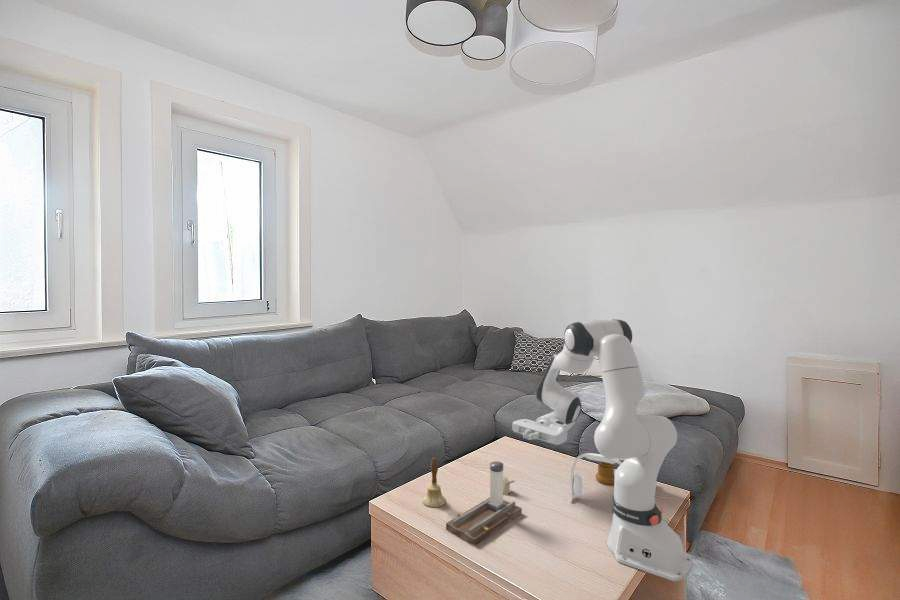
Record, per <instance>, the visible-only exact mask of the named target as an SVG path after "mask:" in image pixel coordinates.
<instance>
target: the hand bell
mask: <svg viewBox="0 0 900 600" xmlns="http://www.w3.org/2000/svg"><path fill="white" fill-rule="evenodd" d="M438 470H439V463H438V461H437V457H432V459H431V463H430V472H431V484H428V486H427V492H426V495H425V496H424V497H423V499H422V500H421V501H422V504H423V505H424V506H425V507H429V508H439V507H442V506H443V505H445V504H446V500H447V499H446V498H445V496H443V493H442V490H441V485H440V484H438V482H437V481H438V479H437V478H438V477H437V475H438Z"/></svg>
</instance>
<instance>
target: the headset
mask: <svg viewBox="0 0 900 600" xmlns="http://www.w3.org/2000/svg"><path fill="white" fill-rule="evenodd" d="M582 458H586V459H587V460H591V461H597V462H606V463H610V464H613V465H614V464H618V465H619V466H620V465H621V464H622V463H623V461H622V460H616V459H607V458H605V457H604V456H602V455H601V454H600V453H594V452H587V453H585V452H584V453H582V454H580V455H578V456H577V457H576V459H575V460H574V461H573V464H572V467H571V470H570V487H571V489H570V490H571V498H570V503H571V504H572V503H573V500H574V495H575V497H581V495H582V489H583V479H582V476H581V474H578V473H577V474H574V473H575V472H574V471H575V469H576V466H577V463H578V461H580V460H581V459H582Z"/></svg>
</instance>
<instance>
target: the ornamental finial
mask: <svg viewBox="0 0 900 600" xmlns="http://www.w3.org/2000/svg"><path fill="white" fill-rule="evenodd" d="M614 478H615V466H614V464H610V463H606V462H601V461H598V466H597V473H596V474H595V480H596V481H597V482H598V483H600V484H602V485H605V486H606V485H607V486H609V485H610V486H611V485H614Z"/></svg>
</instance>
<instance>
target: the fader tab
mask: <svg viewBox="0 0 900 600" xmlns="http://www.w3.org/2000/svg"><path fill="white" fill-rule="evenodd" d="M489 466H490V467H489V471H490V475H489V476H490V479H489V481H490V485H489V487H490V488H489V490H490V492H489V495H490V497H489V498H490V502H488V503H487V507H489V508H491V509H493V510H495V511H498V510H500V509H501V508H503V507H505V506H506V504H505V503H503V500H504V494H503V476H504V463H503V462H502V461H495V460H494V461H492V462H490V464H489Z"/></svg>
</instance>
